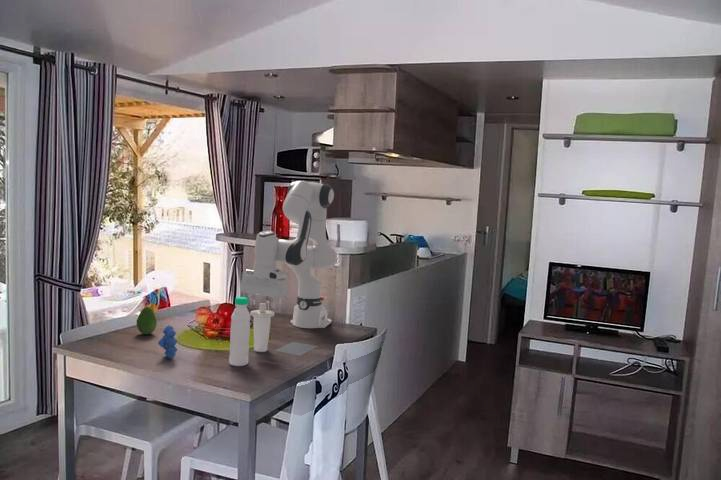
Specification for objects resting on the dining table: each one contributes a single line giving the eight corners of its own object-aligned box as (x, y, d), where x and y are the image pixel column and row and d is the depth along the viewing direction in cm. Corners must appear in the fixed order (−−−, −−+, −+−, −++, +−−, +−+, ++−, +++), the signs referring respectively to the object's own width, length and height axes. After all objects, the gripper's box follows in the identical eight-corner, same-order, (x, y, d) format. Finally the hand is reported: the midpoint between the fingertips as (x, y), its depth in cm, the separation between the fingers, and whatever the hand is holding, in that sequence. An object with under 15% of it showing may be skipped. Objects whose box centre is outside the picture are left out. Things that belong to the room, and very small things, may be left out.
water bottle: (230, 367, 200) (234, 299, 198) (227, 361, 206) (230, 295, 204) (250, 366, 202) (253, 299, 200) (246, 360, 209) (249, 295, 207)
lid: (258, 311, 227) (259, 300, 226) (278, 314, 223) (279, 303, 223) (245, 315, 218) (246, 304, 217) (266, 318, 214) (266, 307, 214)
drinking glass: (265, 354, 218) (267, 317, 216) (249, 352, 219) (251, 315, 218) (271, 350, 224) (273, 314, 223) (255, 348, 226) (257, 312, 224)
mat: (293, 343, 236) (293, 341, 236) (318, 347, 232) (318, 346, 232) (273, 352, 222) (273, 350, 222) (299, 357, 217) (299, 355, 217)
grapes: (153, 354, 208) (154, 323, 207) (171, 352, 212) (172, 322, 211) (161, 363, 199) (162, 330, 198) (180, 361, 203) (181, 329, 202)
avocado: (156, 331, 240) (157, 304, 239) (155, 336, 233) (156, 308, 232) (136, 332, 237) (137, 304, 236) (135, 336, 230) (136, 308, 229)
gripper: (238, 269, 220) (236, 303, 221) (282, 275, 212) (280, 310, 213) (247, 268, 226) (245, 301, 227) (290, 274, 218) (288, 308, 219)
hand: (262, 306), depth 220 cm, fingers open, 8 cm apart
